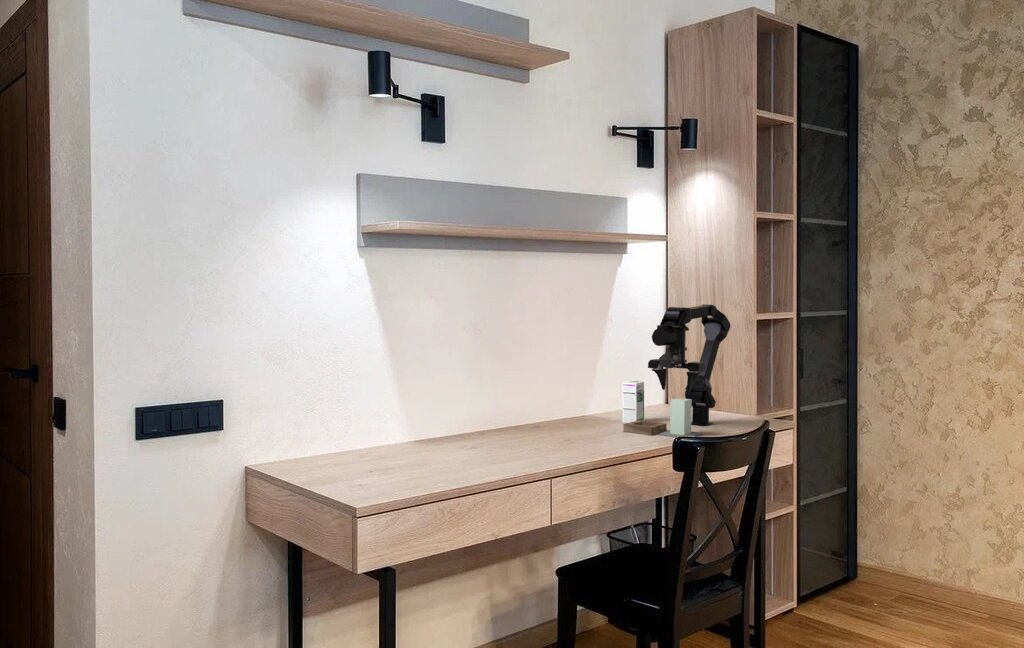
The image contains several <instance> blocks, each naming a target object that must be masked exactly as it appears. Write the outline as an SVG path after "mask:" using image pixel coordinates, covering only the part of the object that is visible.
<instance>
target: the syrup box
mask: <svg viewBox="0 0 1024 648" xmlns="http://www.w3.org/2000/svg"><path fill="white" fill-rule="evenodd" d="M621 383H622V384H621V385H622V391H621V392H622V394H621V395H622V404H621V405H622V417H621V418H622V423H623V424H626V423H630V422H634V421H638V420H641V421H645V382H644V381H640V380H628V381H623V382H621Z"/></svg>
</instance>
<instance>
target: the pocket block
mask: <svg viewBox="0 0 1024 648" xmlns="http://www.w3.org/2000/svg"><path fill="white" fill-rule="evenodd" d="M622 425H623V427H622V430H623V432H624V433H631V434H639V435H646V436H654V435H658V434H660V433H663V432H667V431H668V430H667V423H666V422H657V421H650V420H644V421H641V420H638V421H634V422H630V423H623V424H622Z"/></svg>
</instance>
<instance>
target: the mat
mask: <svg viewBox="0 0 1024 648" xmlns="http://www.w3.org/2000/svg"><path fill="white" fill-rule="evenodd" d="M700 435H702V432H700V431H699V432H697V431H691V433H689V434H686V435H679V434H671V433H670V430H667V431H665V432H661V433H659V436H662V437H663V436H664V437H670V438H671V437H672V438H678V437H677V436H695V437H698V436H700Z"/></svg>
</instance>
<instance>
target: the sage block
mask: <svg viewBox="0 0 1024 648" xmlns="http://www.w3.org/2000/svg"><path fill="white" fill-rule="evenodd" d="M669 404H670V407H669V408H670V411H669V412H670V414H669V415H670V416H669V419H670V420H669V431H670V433H671V434H679V435H686V434H689V433H691V432H692V424H691V422H692V399H686V398H683V397H681V398H680V397H676V398H672V399H670V403H669Z"/></svg>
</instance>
